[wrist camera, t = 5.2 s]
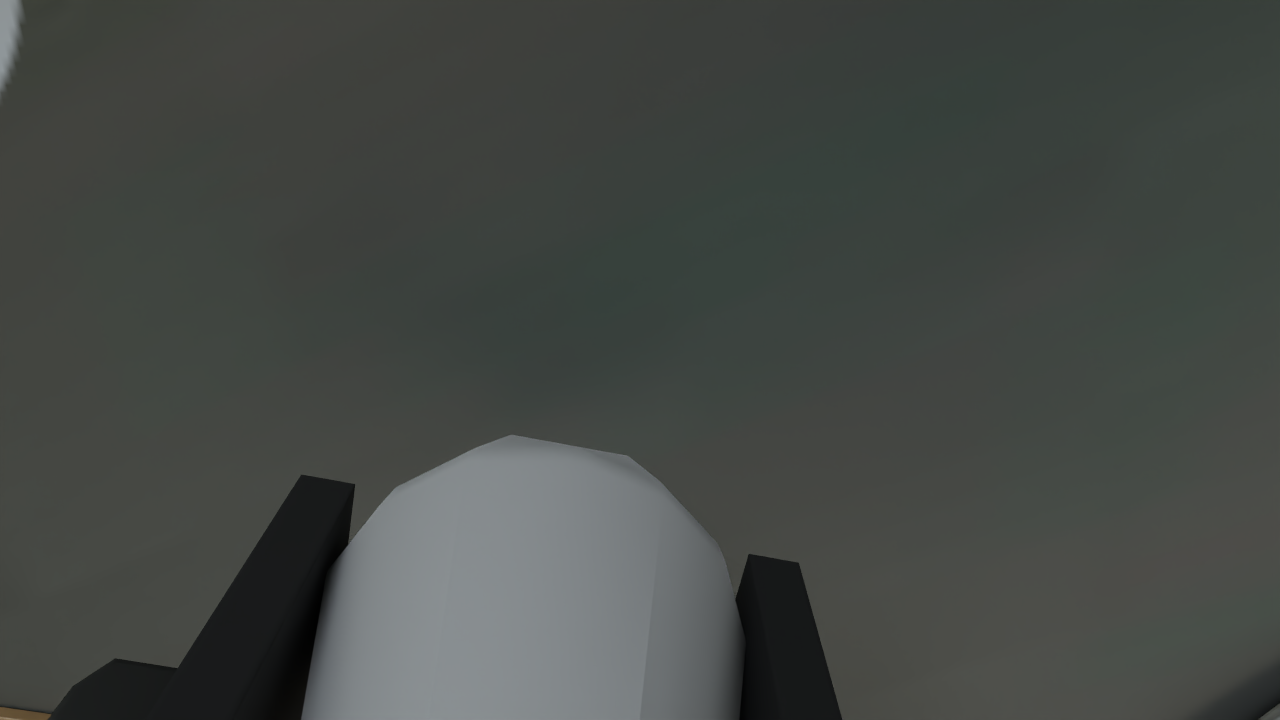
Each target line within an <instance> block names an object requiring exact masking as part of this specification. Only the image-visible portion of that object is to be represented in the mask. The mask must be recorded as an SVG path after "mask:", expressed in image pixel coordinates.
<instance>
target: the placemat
mask: <svg viewBox="0 0 1280 720" xmlns="http://www.w3.org/2000/svg"><path fill="white" fill-rule="evenodd" d="M50 716H51V714H47V713H40V712H33V711H26V710H19V709H12V708H5V707H0V720H47V719H48V718H49V717H50Z"/></svg>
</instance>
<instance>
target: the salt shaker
mask: <svg viewBox="0 0 1280 720" xmlns="http://www.w3.org/2000/svg"><path fill="white" fill-rule="evenodd" d="M745 650H746V639H745V635H744V631H743V628H742V624H741V620H740V616H739V612H738V608H737V604H736V600H735V597H734V593H733V589H732V585H731V581H730V577H729V573H728V570H727V566H726V562H725V560H724V557H723V555H722V552H721V550H720V547H719V545H718V543H717V542H716V541H715V540H714V539H713V538H712V537H711V536H710V535H709V533H708V532H707V531H706V530H705V529H704V528H703V527H702V526H701V525H700V524H699V523H698V522H697V521H696V519H695V518H694V517H693V516H692V515H691V514H690V513H689V512H688V511H687V510H686V509H685V508H684V507H683V506H682V504H681V503H680V502H679V501H678V500H677V499H676V498H675V497H674V496H673V495H672V494H671V493H670V492H669V490H668V489H667V488H666V487H665V486H664V485H663V484H662V483H661V482H660V481H659V480H658V479H657V478H655V477H654V476H653V475H651V474H650V473H649V472H648V471H646V470H645V469H644V468H643V467H641V466H640V465H639V464H637V463H636V462H635V461H634V460H632V459H631V458H630V457H629V456H626V455H621V454H615V453H610V452H604V451H599V450H593V449H587V448H582V447H576V446H571V445H565V444H560V443H554V442H549V441H543V440H538V439H532V438H527V437H521V436H516V435H509V436H506V437H504V438H501V439H498V440H496V441H493V442H490V443H488V444H485V445H482V446H479V447H477V448H475V449H472V450H470V451H468V452H466V453H464V454H462V455H460V456H458V457H456V458H454V459H452V460H450V461H448V462H446V463H444V464H442V465H440V466H438V467H436V468H434V469H432V470H430V471H428V472H426V473H424V474H422V475H420V476H418V477H416V478H414V479H412V480H410V481H408V482H406V483H404V484H401V485H399V486H397V487H396V488H395V489H394V490H393V491H392V492H391V493H390V494H389V495H388V497H387V498H386V499H385V500H384V501H383V502H382V503H381V504H380V506H379V507H378V508H377V509H376V511H375V512H374V513H373V514H372V516H371V517H370V518H369V519H368V521H367V522H366V523H365V524H364V526H363V527H362V528H361V529H360V531H359V532H358V533H357V534H356V536H355V537H354V538H353V539H352V541H351V542H350V543H349V544H348V546H347V547H346V548H345V549H344V551H343V552H342V553H341V554H340V556H339V557H338V558H337V559H336V561H335V562H334V563H333V564H332V566H331V567H330V568H329V569H328V572H327V574H326V578H325V584H324V589H323V595H322V601H321V607H320V613H319V618H318V624H317V630H316V636H315V642H314V648H313V653H312V659H311V665H310V671H309V677H308V683H307V688H306V694H305V700H304V706H303V712H302V717H301V720H739V717H740V706H741V694H742V683H743V672H744V661H745Z"/></svg>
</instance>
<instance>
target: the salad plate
mask: <svg viewBox="0 0 1280 720" xmlns="http://www.w3.org/2000/svg"><path fill="white" fill-rule="evenodd" d="M1258 720H1280V703H1279V704H1278V705H1276V706H1275V707H1274V708H1272V709H1271V710H1270V711H1269V712H1267V713H1266V714H1265V715H1263V716H1262V717H1261V718H1259V719H1258Z"/></svg>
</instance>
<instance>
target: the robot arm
mask: <svg viewBox="0 0 1280 720" xmlns="http://www.w3.org/2000/svg"><path fill="white" fill-rule="evenodd" d="M354 490H355V484H351V483H345V482H340V481H334V480H329V479H323V478H317V477H312V476H306V475H301V476H300V478H299V479H298V481H297V482H296V484H295V485H294V487H293V489H292V490H291V492H290V493H289V495H288V496H287V498H286V500H285V501H284V503H283V504H282V506H281V507H280V509H279V510H278V512H277V514H276V515H275V517H274V518H273V520H272V521H271V523H270V525H269V526H268V528H267V529H266V531H265V532H264V534H263V536H262V537H261V539H260V540H259V542H258V543H257V545H256V547H255V548H254V550H253V551H252V553H251V554H250V556H249V557H248V559H247V561H246V562H245V564H244V565H243V567H242V568H241V570H240V572H239V573H238V575H237V576H236V578H235V579H234V581H233V583H232V584H231V586H230V587H229V589H228V590H227V592H226V593H225V595H224V597H223V598H222V600H221V601H220V603H219V604H218V606H217V608H216V609H215V611H214V612H213V614H212V615H211V617H210V619H209V620H208V622H207V623H206V625H205V626H204V628H203V629H202V631H201V633H200V634H199V636H198V637H197V639H196V640H195V642H194V644H193V645H192V647H191V648H190V650H189V651H188V653H187V655H186V656H185V658H184V659H183V661H182V662H181V664H180V666H179V667H178V668H172V667H166V666H159V665H153V664H147V663H140V662H134V661H128V660H122V659H114V660H112V661H111V662H109V663H108V664H106V665H104V666H103V667H101V668H100V669H98V670H97V671H95V672H94V673H92V674H91V675H89V676H88V677H86V678H85V679H83V680H82V681H80V682H79V683H77V684H76V685H74V686H73V687H72V688H71V689H70V691H69V692H68V693H67V695H66V696H65V697H64V699H63V700H62V701H61V703H60V704H59V705H58V706H57V708H56V709H55V710H54V712H53V713H52V714H51V716H50V717H49V718H48V719H47V720H301V717H302V712H303V706H304V700H305V694H306V688H307V683H308V677H309V671H310V665H311V659H312V653H313V648H314V642H315V636H316V630H317V624H318V618H319V613H320V607H321V601H322V595H323V589H324V584H325V578H326V574H327V572H328V569H329V568H330V567H331V566H332V564H333V563H334V562H335V561H336V559H337V558H338V557H339V556H340V554H341V553H342V552H343V551H344V549H345V548H346V547H347V546H348V540H349V531H350V523H351V515H352V506H353V498H354ZM736 604H737V608H738V612H739V616H740V620H741V624H742V628H743V631H744V635H745V639H746V650H745V661H744V672H743V683H742V694H741V706H740V717H739V720H842V717H841V714H840V710H839V706H838V703H837V699H836V696H835V692H834V688H833V685H832V681H831V678H830V674H829V670H828V667H827V663H826V660H825V656H824V652H823V649H822V645H821V642H820V638H819V634H818V631H817V627H816V624H815V620H814V616H813V613H812V609H811V606H810V602H809V598H808V595H807V591H806V588H805V584H804V580H803V577H802V573H801V569H800V566H799V563H797V562H791V561H785V560H780V559H774V558H769V557H763V556H757V555H752V554H749V555H748V559H747V562H746V565H745V569H744V572H743V576H742V579H741V582H740V586H739V589H738V593H737V596H736Z"/></svg>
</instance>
